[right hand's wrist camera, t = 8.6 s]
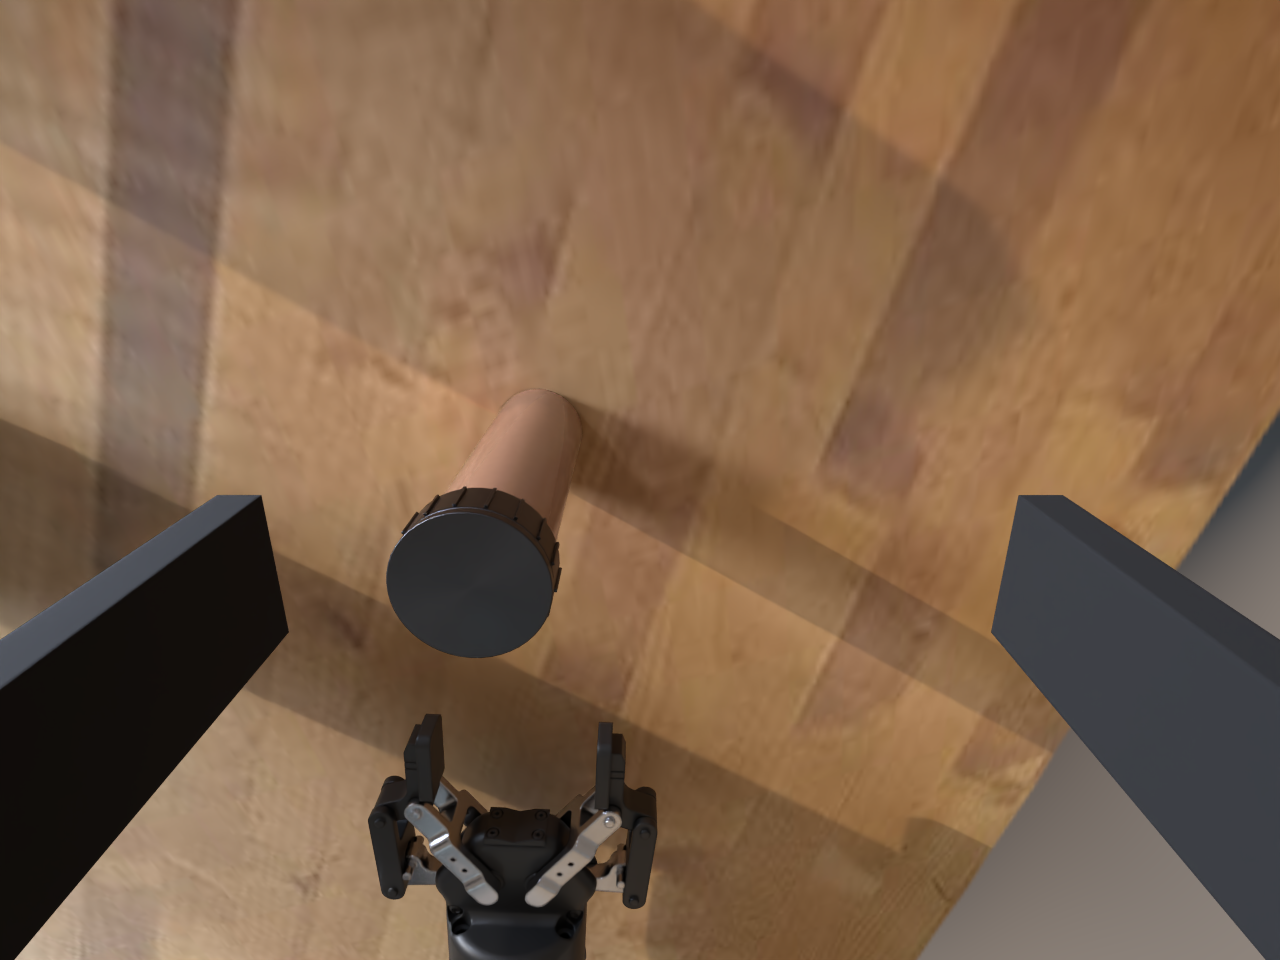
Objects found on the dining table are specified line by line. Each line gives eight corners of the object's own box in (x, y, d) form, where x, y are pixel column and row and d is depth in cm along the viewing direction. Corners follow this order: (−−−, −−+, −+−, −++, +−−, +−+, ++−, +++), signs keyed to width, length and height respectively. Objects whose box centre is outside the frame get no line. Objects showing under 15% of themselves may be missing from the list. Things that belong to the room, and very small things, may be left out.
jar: (594, 456, 36) (564, 620, 22) (515, 481, 36) (437, 657, 22) (564, 377, 34) (512, 497, 20) (482, 404, 35) (376, 540, 21)
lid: (584, 601, 23) (579, 635, 21) (443, 642, 24) (427, 678, 22) (527, 464, 21) (517, 488, 20) (377, 512, 22) (353, 540, 20)
